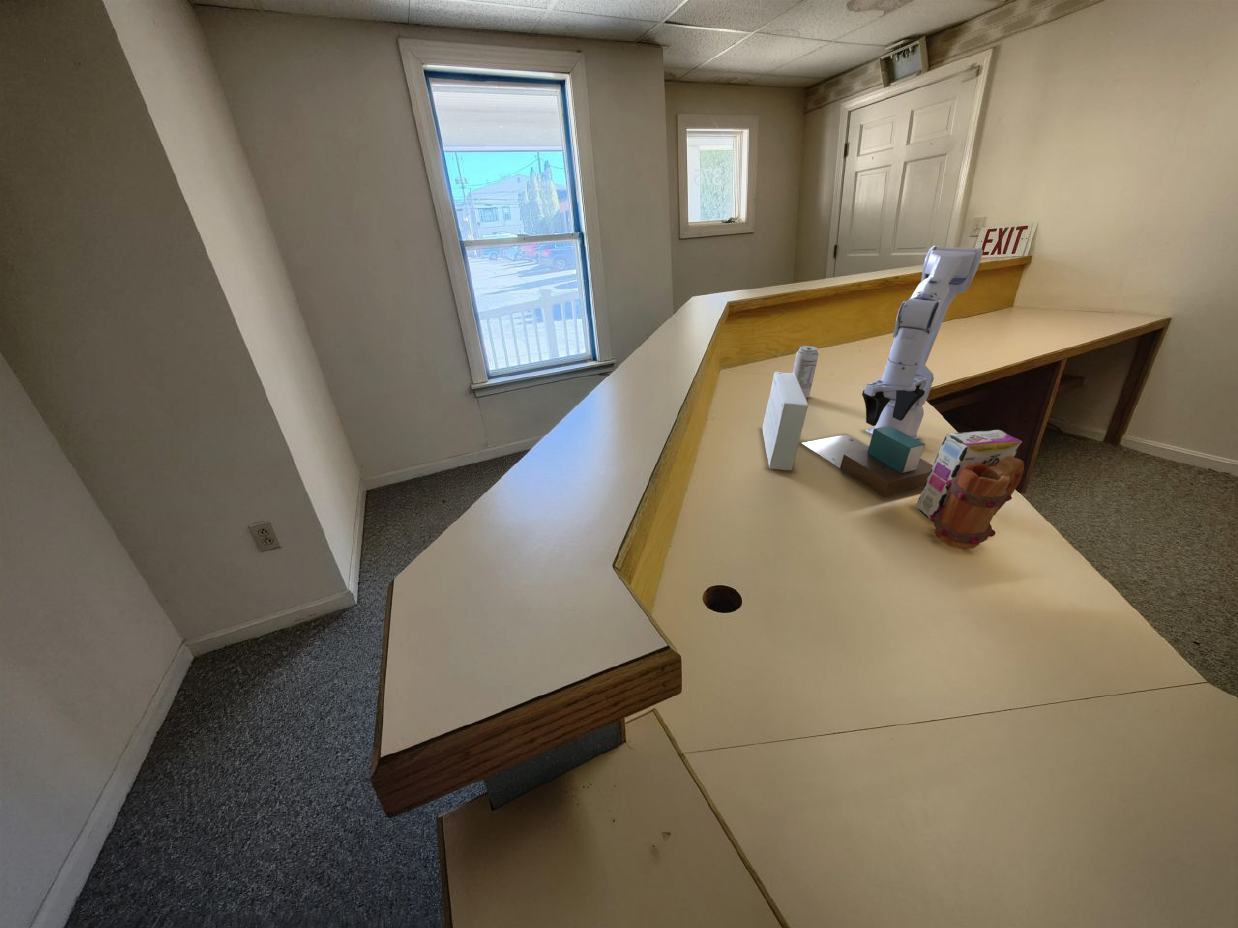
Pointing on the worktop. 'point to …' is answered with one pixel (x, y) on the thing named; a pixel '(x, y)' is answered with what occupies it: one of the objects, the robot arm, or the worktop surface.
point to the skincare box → (784, 420)
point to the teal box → (895, 449)
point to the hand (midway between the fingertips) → (884, 421)
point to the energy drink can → (805, 367)
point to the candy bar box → (962, 463)
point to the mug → (976, 502)
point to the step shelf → (869, 466)
